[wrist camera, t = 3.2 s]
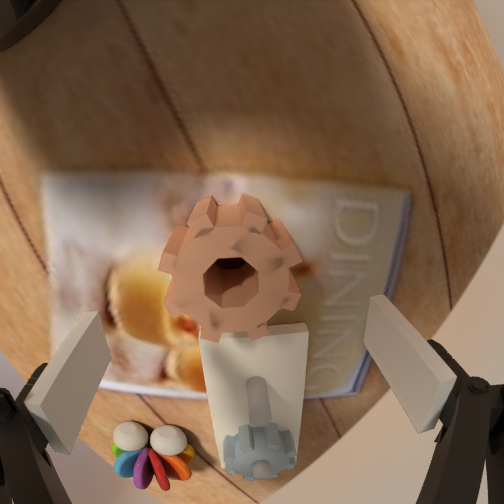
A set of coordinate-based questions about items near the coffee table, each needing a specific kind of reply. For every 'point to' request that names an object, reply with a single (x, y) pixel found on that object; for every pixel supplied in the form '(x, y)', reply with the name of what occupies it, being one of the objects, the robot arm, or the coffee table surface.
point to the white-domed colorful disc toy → (151, 454)
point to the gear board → (256, 362)
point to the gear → (230, 280)
